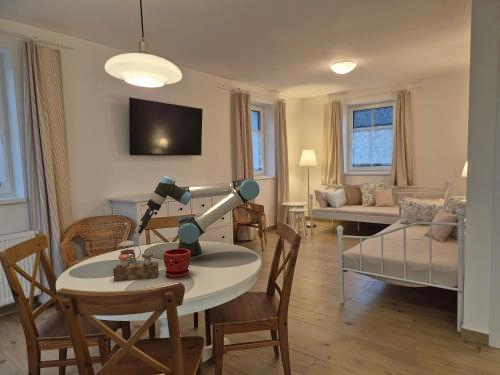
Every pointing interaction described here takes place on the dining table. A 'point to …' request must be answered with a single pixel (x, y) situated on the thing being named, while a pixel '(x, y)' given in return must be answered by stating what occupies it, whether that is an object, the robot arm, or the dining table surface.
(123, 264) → the red plug
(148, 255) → the charcoal plug
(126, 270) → the socket block
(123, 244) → the french press
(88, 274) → the dining table surface
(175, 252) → the plant pot
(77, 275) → the dining table surface
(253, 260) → the dining table surface
